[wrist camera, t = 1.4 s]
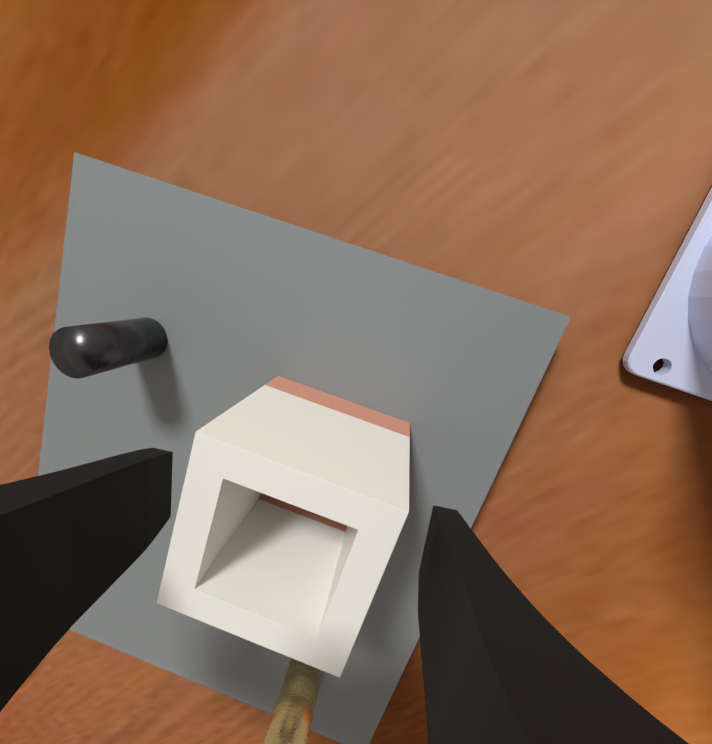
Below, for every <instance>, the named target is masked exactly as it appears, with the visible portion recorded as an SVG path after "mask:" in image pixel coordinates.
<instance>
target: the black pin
mask: <svg viewBox="0 0 712 744" xmlns="http://www.w3.org/2000/svg"><path fill="white" fill-rule="evenodd" d="M167 343H168V339H167V334H166V331H165V329H164V328H163V326H162V325H161V324H160V323H159V322H158V321H156V320H154V319H152V318H136V319H128V320H119V321H111V322H102V323H93V324H85V325H76V326H68V327H62V328H60V329H58V330H57V331H55V332H54V334H53V335H52V337H51V339H50V343H49V351H50V356H51V359H52V361H53V363H54V364H55V366H56V367H57V368H58V370H60V371H61V372H62V373H63V374H65V375H66V376H68V377H71V378H76V379H80V378H84V377H88V376H92V375H95V374H99V373H102V372H106V371H110V370H113V369H117V368H120V367H124V366H127V365H131V364H135V363H138V362H142V361H145V360H149V359H153V358H156V357H159V356H160V355H162V354H163V353H164V351H165V350H166V347H167Z"/></svg>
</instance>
